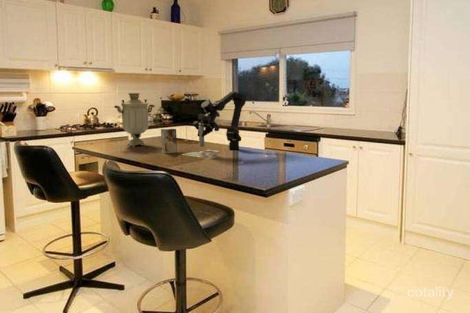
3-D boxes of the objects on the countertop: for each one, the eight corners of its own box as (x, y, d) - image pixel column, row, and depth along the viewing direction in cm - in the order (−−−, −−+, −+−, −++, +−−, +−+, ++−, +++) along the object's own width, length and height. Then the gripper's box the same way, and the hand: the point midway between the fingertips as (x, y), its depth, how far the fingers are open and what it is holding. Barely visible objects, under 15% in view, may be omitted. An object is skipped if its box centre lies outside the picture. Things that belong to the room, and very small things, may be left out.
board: (223, 157, 253) (223, 151, 253) (210, 160, 244) (210, 153, 243) (194, 153, 269) (193, 147, 269) (181, 155, 260) (180, 149, 260)
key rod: (204, 145, 256) (204, 125, 254) (203, 146, 253) (203, 126, 250) (200, 145, 256) (199, 125, 254) (198, 146, 253) (198, 126, 251)
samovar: (155, 141, 327) (152, 92, 319) (157, 146, 302) (155, 93, 295) (117, 143, 319) (113, 93, 312) (117, 148, 294) (113, 93, 287)
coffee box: (174, 151, 280) (173, 128, 277) (177, 152, 274) (176, 129, 271) (161, 152, 276) (160, 129, 273) (164, 153, 270) (163, 130, 267)
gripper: (194, 108, 259) (182, 127, 252) (216, 109, 248) (204, 129, 241) (202, 120, 267) (191, 138, 260) (224, 121, 255) (213, 140, 249)
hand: (200, 136), depth 252 cm, fingers closed on key rod, 3 cm apart
